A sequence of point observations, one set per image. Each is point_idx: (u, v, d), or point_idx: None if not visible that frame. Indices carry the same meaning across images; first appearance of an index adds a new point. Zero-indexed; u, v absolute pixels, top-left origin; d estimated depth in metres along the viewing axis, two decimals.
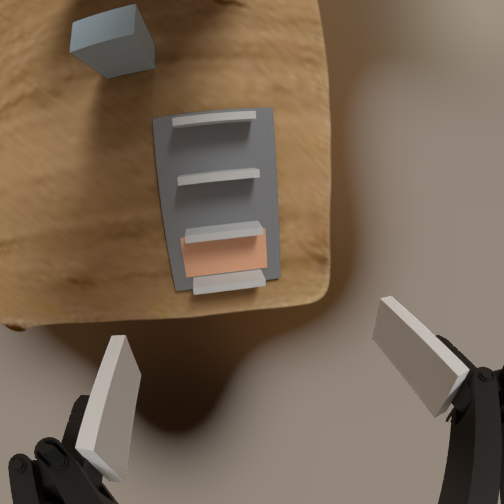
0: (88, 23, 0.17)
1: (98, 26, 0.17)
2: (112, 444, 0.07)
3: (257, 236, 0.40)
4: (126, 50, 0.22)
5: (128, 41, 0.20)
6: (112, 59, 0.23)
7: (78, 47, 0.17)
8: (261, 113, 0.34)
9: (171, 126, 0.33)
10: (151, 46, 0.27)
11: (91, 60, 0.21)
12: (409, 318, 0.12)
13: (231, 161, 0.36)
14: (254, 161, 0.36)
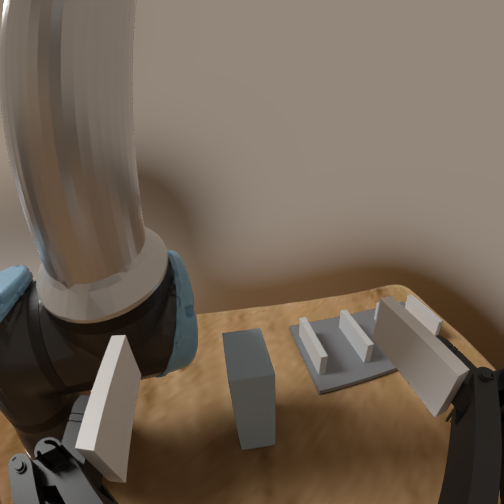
0: (237, 364, 0.24)
1: (244, 354, 0.25)
2: (112, 444, 0.07)
3: None
4: None
5: None
6: None
7: (269, 367, 0.23)
8: (296, 330, 0.47)
9: (324, 376, 0.36)
10: None
11: None
12: (409, 318, 0.12)
13: (339, 338, 0.44)
14: (334, 327, 0.47)
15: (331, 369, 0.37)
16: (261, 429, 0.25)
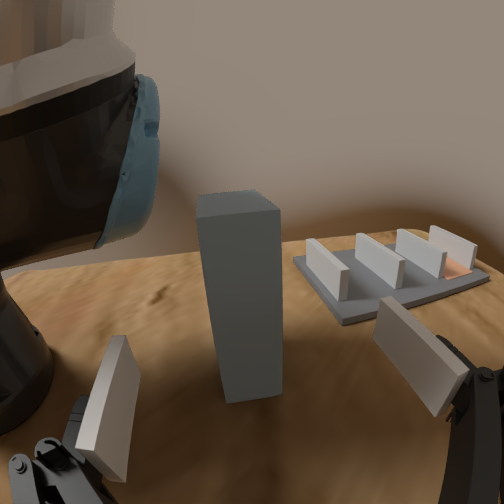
0: (215, 207, 0.15)
1: (229, 201, 0.16)
2: (112, 444, 0.07)
3: None
4: None
5: None
6: None
7: (270, 205, 0.14)
8: (302, 260, 0.38)
9: (346, 302, 0.27)
10: None
11: None
12: (409, 318, 0.12)
13: (358, 266, 0.35)
14: (349, 258, 0.38)
15: (354, 295, 0.28)
16: (259, 355, 0.16)
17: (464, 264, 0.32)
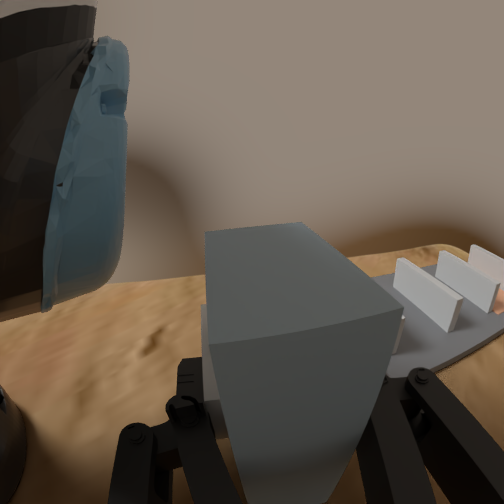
0: (247, 286, 0.07)
1: (271, 263, 0.08)
2: None
3: None
4: None
5: None
6: None
7: (372, 287, 0.06)
8: None
9: (395, 358, 0.19)
10: None
11: None
12: None
13: (399, 300, 0.27)
14: (386, 287, 0.30)
15: (403, 346, 0.20)
16: (307, 486, 0.08)
17: None
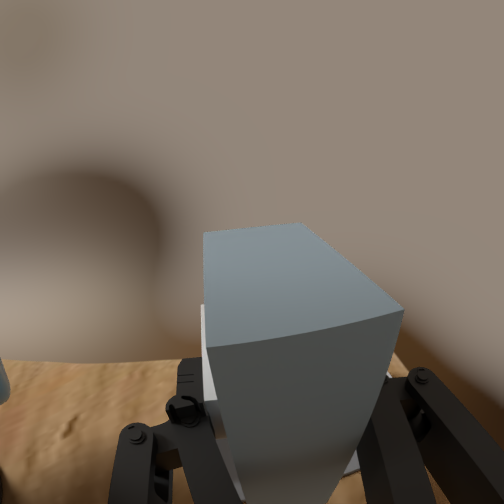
0: (245, 288, 0.07)
1: (270, 264, 0.08)
2: None
3: None
4: None
5: None
6: None
7: (372, 289, 0.06)
8: None
9: None
10: None
11: None
12: None
13: None
14: None
15: (229, 474, 0.22)
16: (307, 487, 0.08)
17: None
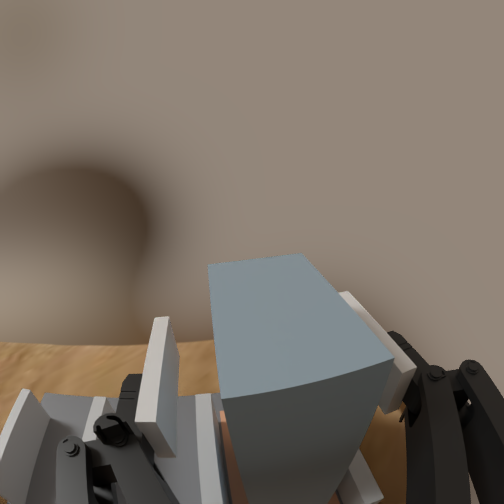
0: (252, 335, 0.07)
1: (274, 307, 0.08)
2: (166, 418, 0.09)
3: None
4: None
5: None
6: None
7: (367, 336, 0.06)
8: (46, 404, 0.17)
9: None
10: None
11: None
12: (361, 313, 0.13)
13: None
14: None
15: None
16: (306, 496, 0.09)
17: None
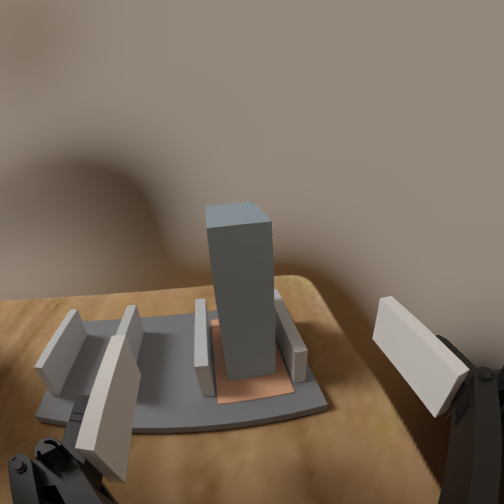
0: (220, 218, 0.19)
1: (231, 213, 0.20)
2: (112, 444, 0.07)
3: None
4: None
5: None
6: None
7: (264, 217, 0.18)
8: None
9: (54, 399, 0.18)
10: None
11: None
12: (409, 318, 0.12)
13: None
14: None
15: (69, 393, 0.19)
16: (255, 338, 0.20)
17: (290, 371, 0.22)
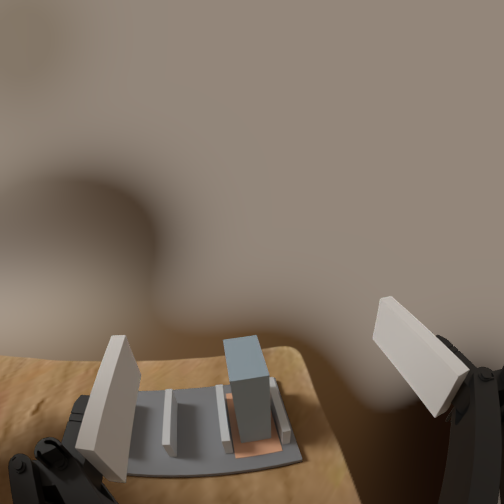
0: (236, 367, 0.28)
1: (243, 358, 0.29)
2: (112, 444, 0.07)
3: None
4: None
5: None
6: None
7: (264, 369, 0.27)
8: None
9: None
10: None
11: None
12: (409, 318, 0.12)
13: (163, 418, 0.34)
14: None
15: (133, 453, 0.28)
16: (258, 423, 0.29)
17: (280, 436, 0.31)
